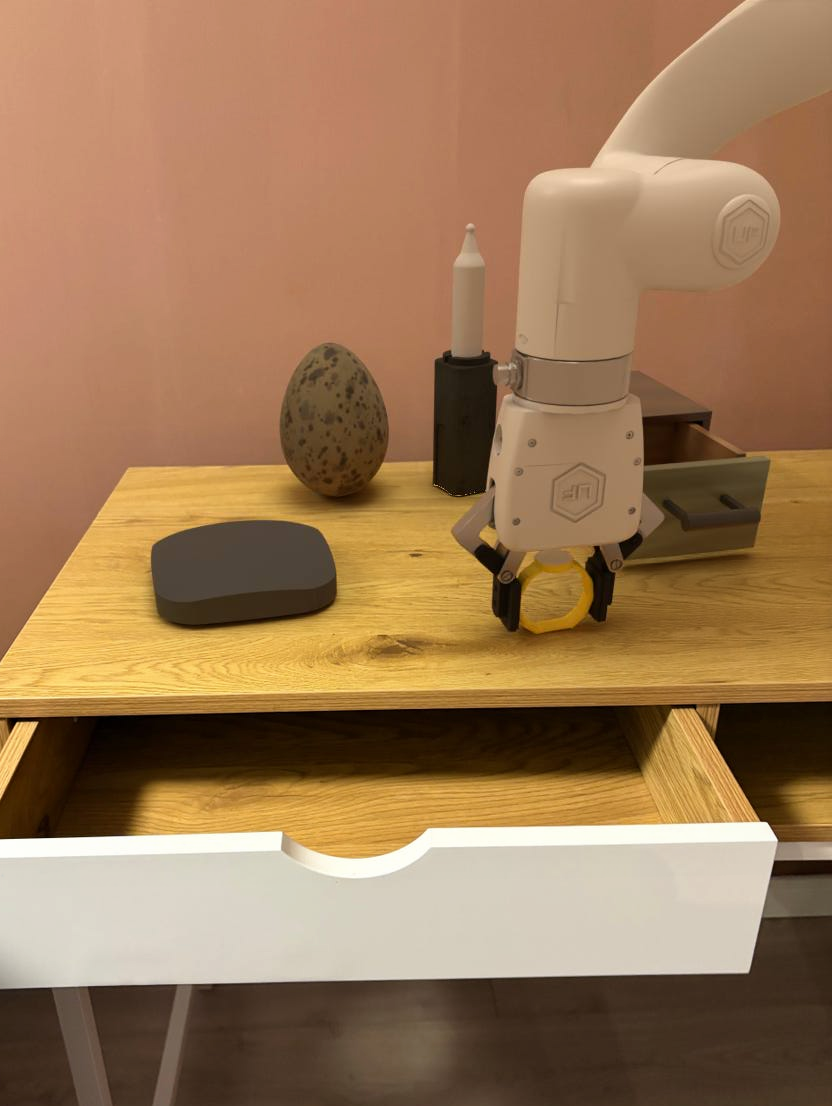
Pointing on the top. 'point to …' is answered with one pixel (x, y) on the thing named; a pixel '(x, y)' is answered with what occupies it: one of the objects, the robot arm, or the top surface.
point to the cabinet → (666, 403)
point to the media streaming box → (242, 572)
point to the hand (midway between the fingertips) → (550, 616)
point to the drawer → (699, 491)
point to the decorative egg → (333, 422)
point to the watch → (557, 564)
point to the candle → (465, 385)
